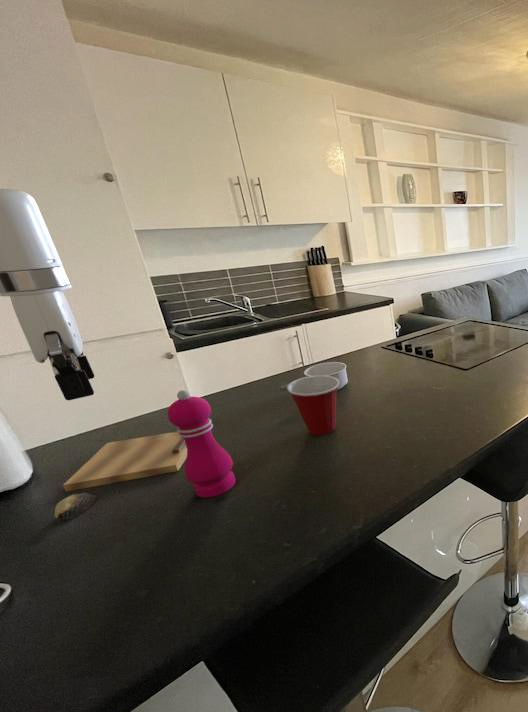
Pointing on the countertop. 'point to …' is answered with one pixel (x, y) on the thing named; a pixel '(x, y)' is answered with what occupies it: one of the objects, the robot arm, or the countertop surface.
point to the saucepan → (327, 372)
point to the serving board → (131, 461)
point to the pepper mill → (201, 446)
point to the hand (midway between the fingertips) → (81, 388)
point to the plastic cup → (316, 402)
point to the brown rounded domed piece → (73, 506)
